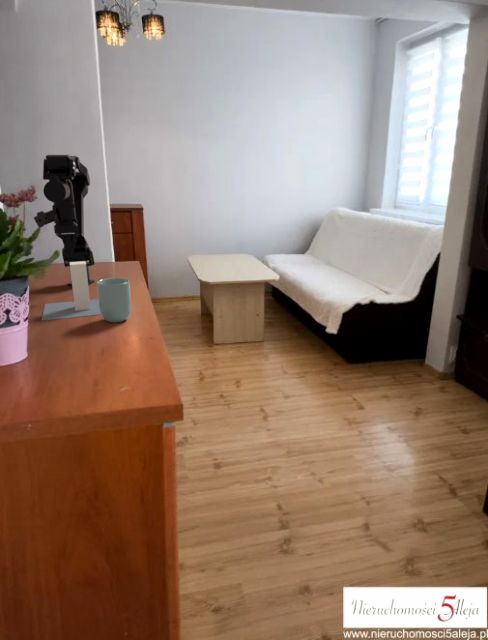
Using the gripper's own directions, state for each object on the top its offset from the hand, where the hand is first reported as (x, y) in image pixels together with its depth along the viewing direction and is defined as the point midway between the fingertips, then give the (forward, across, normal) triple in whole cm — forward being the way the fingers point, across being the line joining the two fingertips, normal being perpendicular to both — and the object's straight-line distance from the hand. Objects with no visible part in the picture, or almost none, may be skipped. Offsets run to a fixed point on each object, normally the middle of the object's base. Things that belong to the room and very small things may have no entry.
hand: (70, 254), depth 137 cm
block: (+12, +18, +2) cm, 22 cm away
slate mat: (+12, +18, +2) cm, 22 cm away
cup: (+12, +32, +10) cm, 36 cm away
